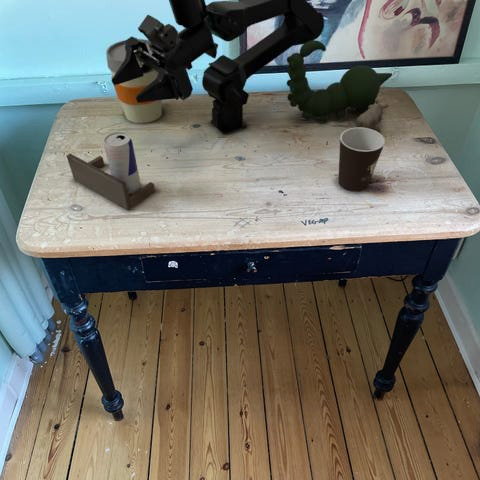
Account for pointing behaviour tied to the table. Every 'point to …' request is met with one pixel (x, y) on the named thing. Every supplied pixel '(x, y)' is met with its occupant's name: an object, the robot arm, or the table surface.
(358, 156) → the coffee mug
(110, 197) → the brown legged board
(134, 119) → the reusable coffee cup
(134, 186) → the energy drink
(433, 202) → the table surface
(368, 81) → the toy figurine
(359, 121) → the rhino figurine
